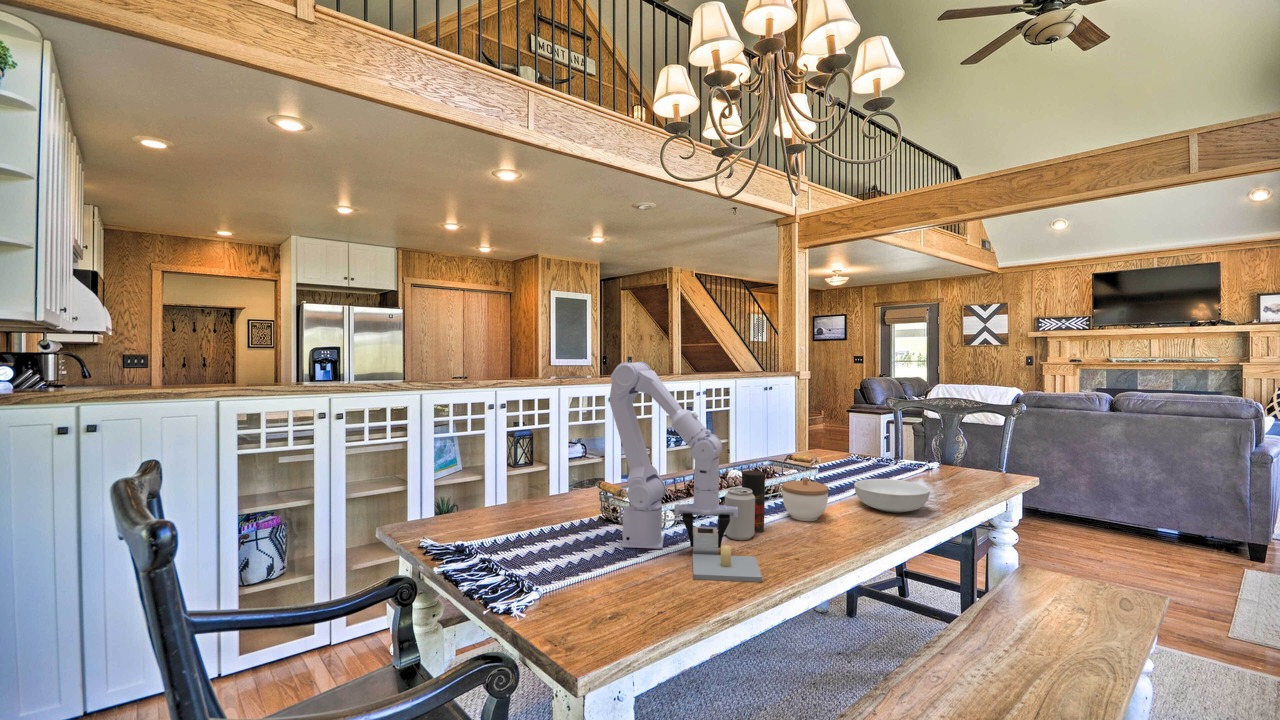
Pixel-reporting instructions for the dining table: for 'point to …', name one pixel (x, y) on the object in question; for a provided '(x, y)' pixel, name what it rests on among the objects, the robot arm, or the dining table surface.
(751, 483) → the deodorant
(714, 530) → the collar
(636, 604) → the dining table surface
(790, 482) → the lidded bowl
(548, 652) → the dining table surface
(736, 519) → the can
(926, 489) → the serving bowl
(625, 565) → the dining table surface
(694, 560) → the post block
